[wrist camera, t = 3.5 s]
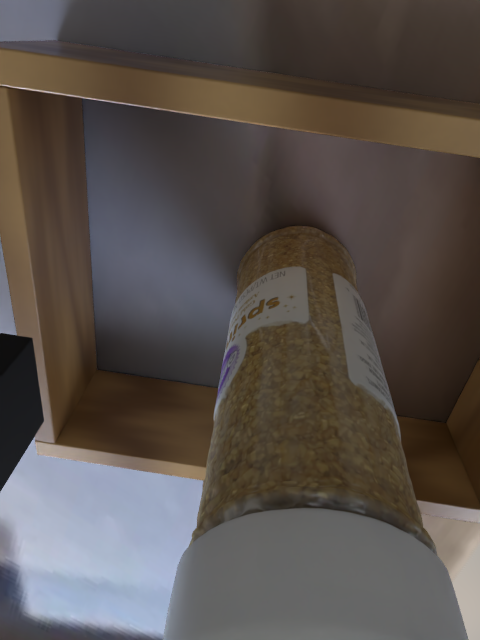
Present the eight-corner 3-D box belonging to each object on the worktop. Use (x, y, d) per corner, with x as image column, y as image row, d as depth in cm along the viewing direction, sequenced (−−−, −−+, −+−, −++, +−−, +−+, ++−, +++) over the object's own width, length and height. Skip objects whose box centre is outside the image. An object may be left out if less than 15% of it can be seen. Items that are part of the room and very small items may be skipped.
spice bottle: (238, 218, 16) (133, 632, 5) (366, 226, 16) (555, 680, 5) (235, 325, 19) (160, 764, 8) (346, 333, 19) (441, 800, 7)
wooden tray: (625, 125, 14) (754, 160, 10) (456, 437, 21) (493, 525, 17) (53, 39, 14) (-34, 42, 10) (81, 379, 21) (36, 455, 17)
